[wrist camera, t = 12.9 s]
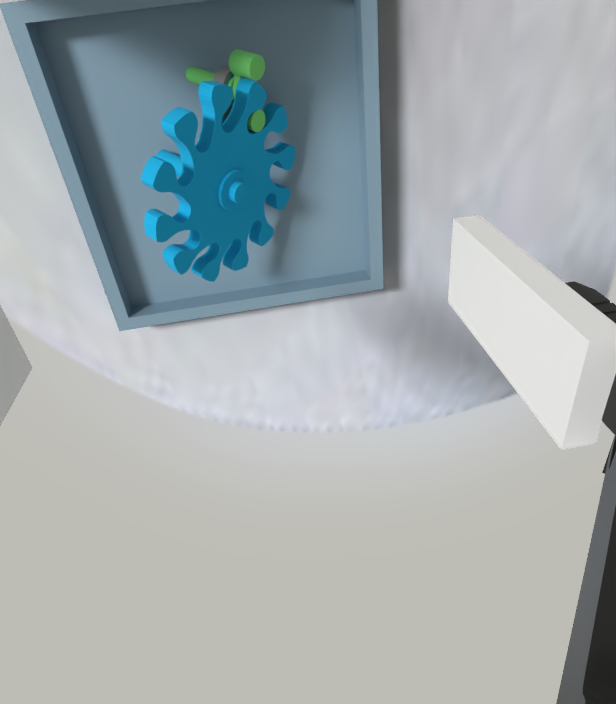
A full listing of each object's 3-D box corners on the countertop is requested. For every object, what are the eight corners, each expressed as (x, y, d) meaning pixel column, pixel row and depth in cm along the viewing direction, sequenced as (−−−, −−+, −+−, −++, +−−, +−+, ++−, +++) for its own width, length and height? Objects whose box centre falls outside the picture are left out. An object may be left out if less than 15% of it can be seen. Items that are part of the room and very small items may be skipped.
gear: (271, 283, 31) (141, 291, 23) (204, 248, 33) (64, 243, 25) (331, 93, 27) (200, 17, 19) (250, 69, 30) (102, -8, 21)
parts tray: (366, -38, 25) (376, -42, 23) (375, 275, 34) (383, 288, 33) (14, 5, 24) (-1, 4, 22) (124, 315, 33) (119, 331, 32)
